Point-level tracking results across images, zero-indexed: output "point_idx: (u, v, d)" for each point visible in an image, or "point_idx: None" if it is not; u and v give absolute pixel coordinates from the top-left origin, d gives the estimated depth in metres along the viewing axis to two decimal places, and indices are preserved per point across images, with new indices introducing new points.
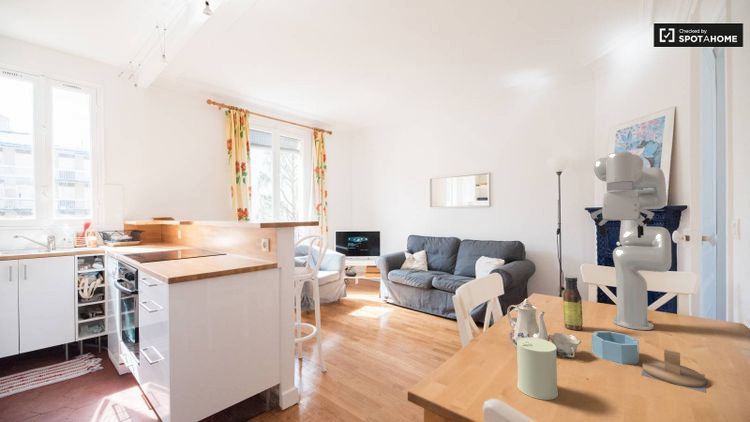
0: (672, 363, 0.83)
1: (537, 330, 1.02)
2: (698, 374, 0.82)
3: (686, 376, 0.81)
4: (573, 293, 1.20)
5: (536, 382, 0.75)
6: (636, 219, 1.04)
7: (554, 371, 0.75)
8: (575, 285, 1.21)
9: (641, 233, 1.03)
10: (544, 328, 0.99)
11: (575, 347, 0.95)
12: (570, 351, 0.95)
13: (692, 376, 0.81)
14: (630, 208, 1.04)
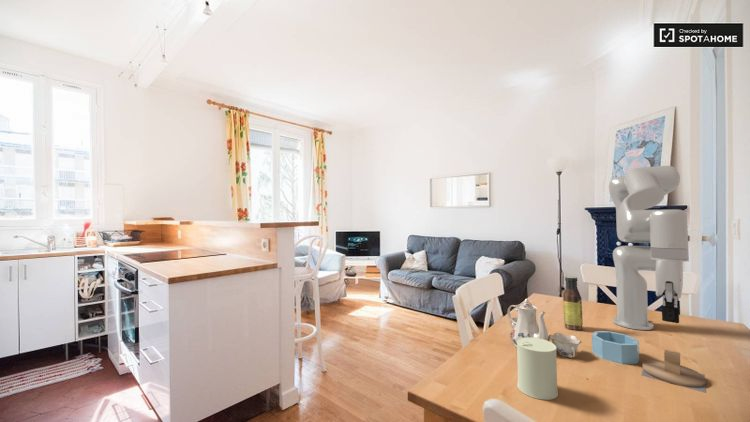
0: (672, 363, 0.83)
1: (537, 330, 1.02)
2: (698, 374, 0.82)
3: (686, 376, 0.81)
4: (573, 293, 1.20)
5: (536, 382, 0.75)
6: None
7: (554, 371, 0.75)
8: (575, 285, 1.21)
9: None
10: (544, 328, 0.99)
11: (575, 347, 0.95)
12: (570, 351, 0.95)
13: (692, 376, 0.81)
14: None
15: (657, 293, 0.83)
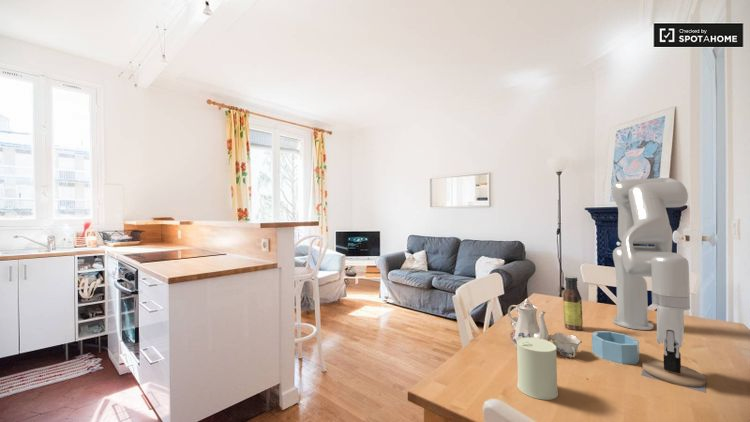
0: None
1: (537, 330, 1.02)
2: (698, 374, 0.82)
3: (686, 376, 0.81)
4: (573, 293, 1.20)
5: (536, 382, 0.75)
6: None
7: (554, 371, 0.75)
8: (575, 285, 1.21)
9: None
10: (545, 328, 0.99)
11: (576, 347, 0.95)
12: (571, 351, 0.95)
13: (692, 376, 0.81)
14: None
15: (658, 341, 0.83)
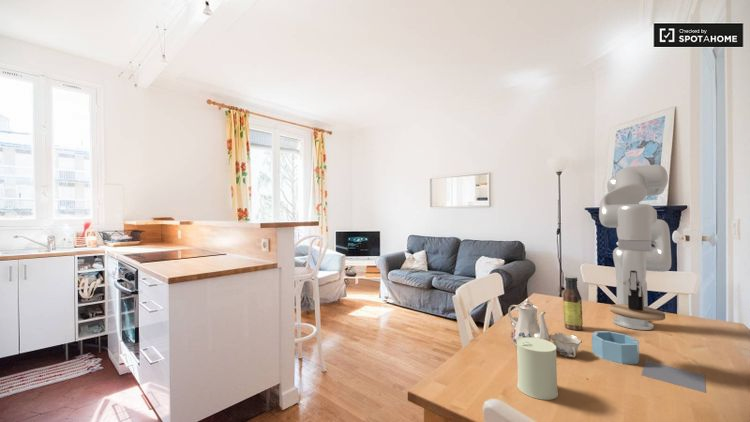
0: None
1: (538, 330, 1.03)
2: (659, 311, 0.90)
3: (648, 313, 0.89)
4: (573, 293, 1.20)
5: (536, 382, 0.75)
6: None
7: (554, 371, 0.75)
8: (575, 285, 1.21)
9: None
10: (545, 328, 0.99)
11: (576, 347, 0.95)
12: (571, 351, 0.96)
13: (653, 312, 0.89)
14: None
15: (623, 281, 0.90)
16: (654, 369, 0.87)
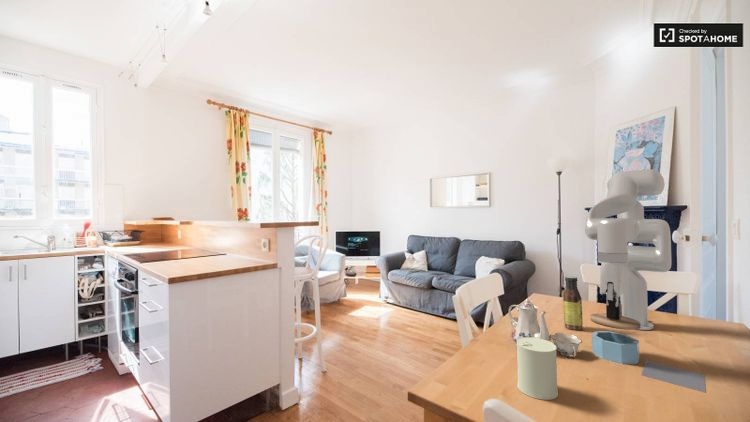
0: None
1: (538, 330, 1.03)
2: (635, 321, 0.94)
3: (624, 322, 0.93)
4: (573, 293, 1.20)
5: (536, 382, 0.75)
6: (621, 295, 0.97)
7: (554, 371, 0.75)
8: (575, 285, 1.21)
9: None
10: (545, 328, 0.99)
11: (576, 347, 0.95)
12: (571, 351, 0.96)
13: (629, 322, 0.93)
14: None
15: (601, 292, 0.95)
16: (654, 369, 0.87)
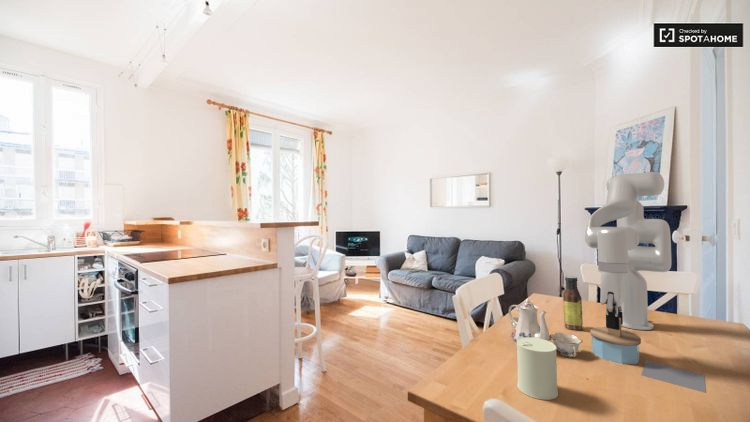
0: None
1: (538, 330, 1.03)
2: (635, 336, 0.95)
3: (625, 337, 0.94)
4: (573, 293, 1.20)
5: (536, 382, 0.75)
6: None
7: (554, 371, 0.75)
8: (575, 285, 1.21)
9: None
10: (545, 328, 0.99)
11: (576, 346, 0.96)
12: (571, 350, 0.96)
13: (630, 337, 0.94)
14: None
15: (601, 302, 0.95)
16: (654, 369, 0.87)
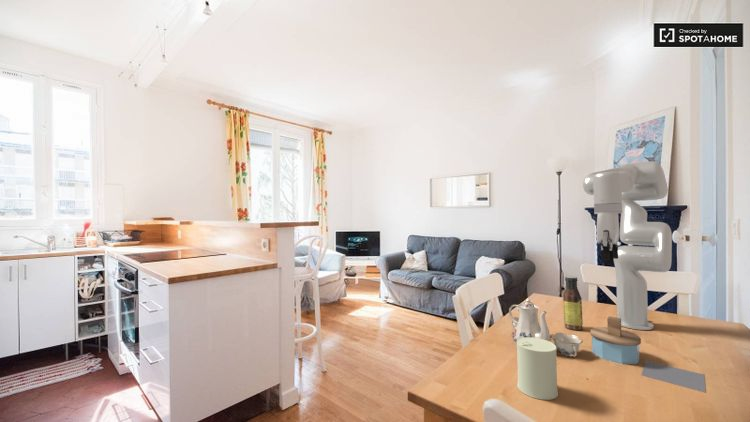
0: (613, 327, 0.95)
1: (539, 329, 1.03)
2: (635, 336, 0.95)
3: (625, 337, 0.94)
4: (573, 293, 1.20)
5: (536, 382, 0.75)
6: None
7: (554, 371, 0.75)
8: (575, 285, 1.21)
9: None
10: (546, 327, 0.99)
11: (577, 346, 0.96)
12: (572, 350, 0.96)
13: (630, 337, 0.94)
14: None
15: (597, 240, 1.01)
16: (654, 369, 0.87)
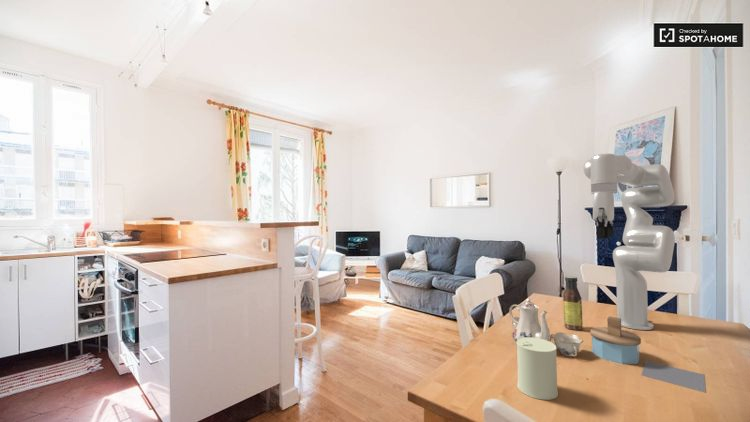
0: (613, 327, 0.95)
1: (539, 329, 1.03)
2: (635, 336, 0.95)
3: (625, 337, 0.94)
4: (573, 293, 1.20)
5: (536, 382, 0.75)
6: (612, 219, 1.12)
7: (554, 371, 0.75)
8: (575, 285, 1.21)
9: None
10: (546, 327, 0.99)
11: (577, 346, 0.96)
12: (572, 350, 0.96)
13: (630, 337, 0.94)
14: None
15: (593, 218, 1.08)
16: (654, 369, 0.87)
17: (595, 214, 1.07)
